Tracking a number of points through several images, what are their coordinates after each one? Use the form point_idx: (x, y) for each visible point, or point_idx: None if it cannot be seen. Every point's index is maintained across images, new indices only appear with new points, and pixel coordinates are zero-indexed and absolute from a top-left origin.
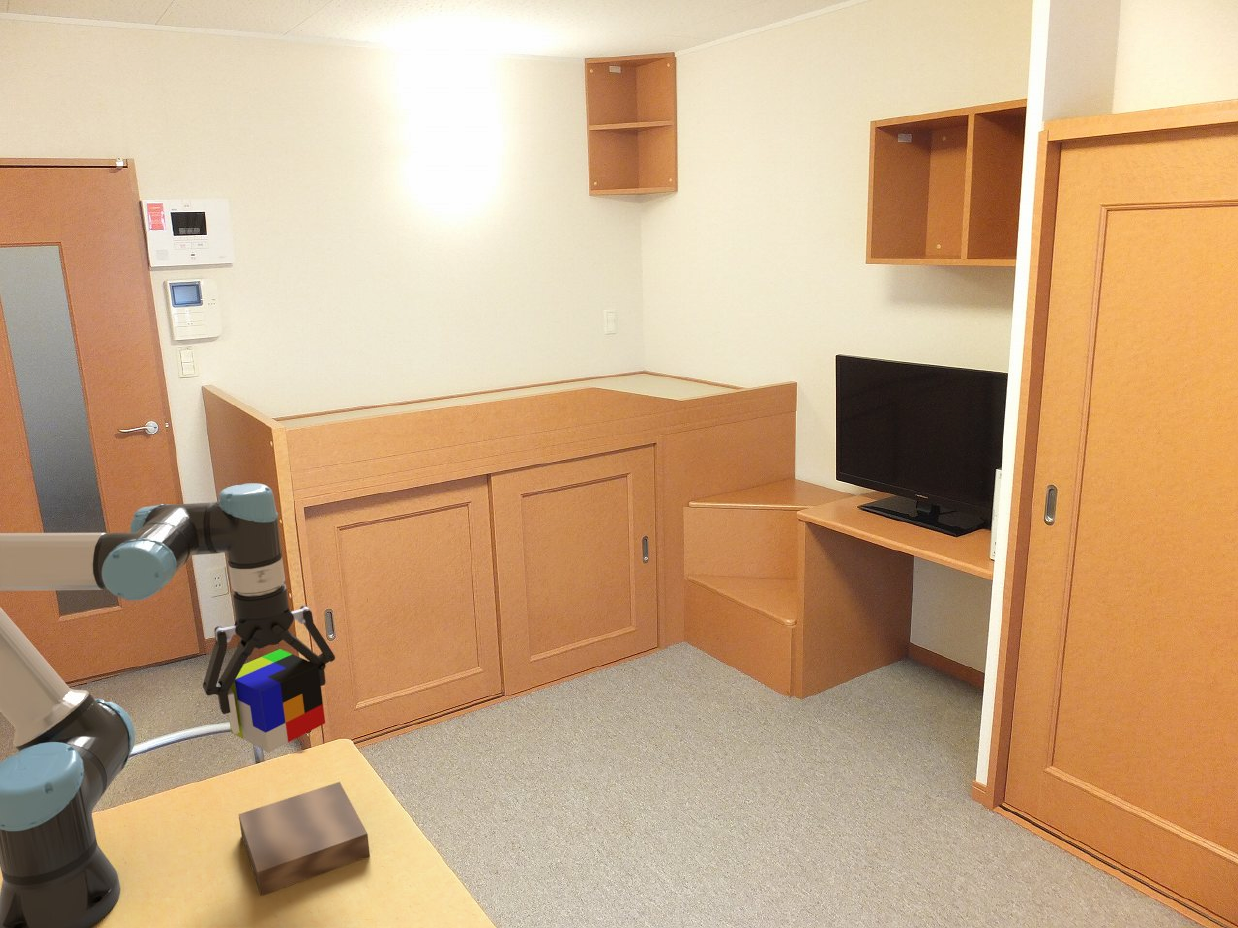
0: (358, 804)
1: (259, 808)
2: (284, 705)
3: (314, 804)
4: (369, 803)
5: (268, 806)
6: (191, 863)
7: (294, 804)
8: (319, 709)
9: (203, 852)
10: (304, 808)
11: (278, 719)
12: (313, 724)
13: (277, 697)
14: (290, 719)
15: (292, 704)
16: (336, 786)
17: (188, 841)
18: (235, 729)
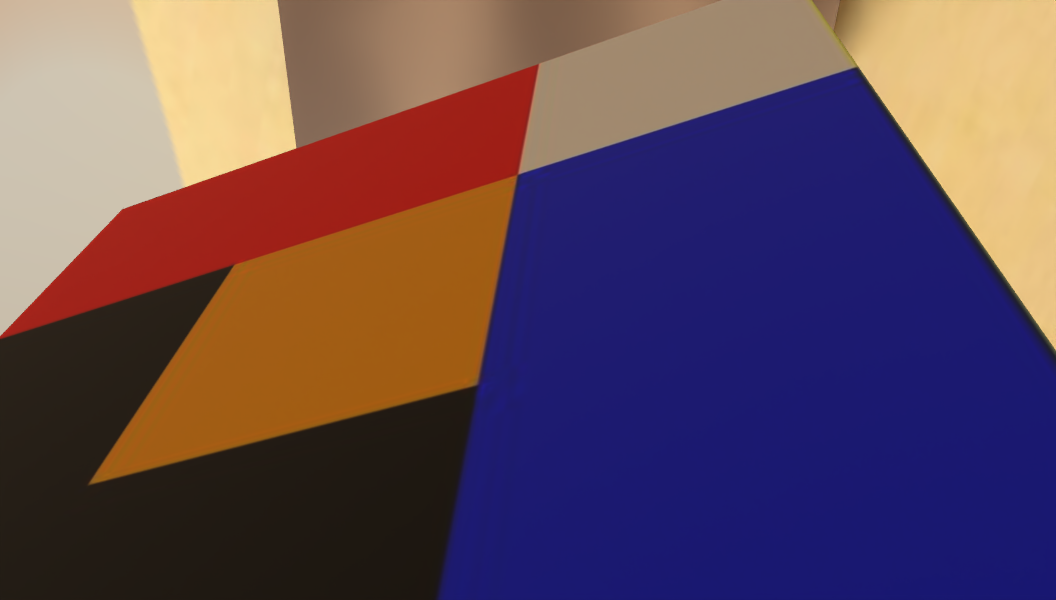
0: (261, 45)
1: None
2: (462, 344)
3: (452, 30)
4: (211, 21)
5: None
6: (1034, 62)
7: None
8: (70, 295)
9: (958, 110)
10: (507, 28)
11: (620, 193)
12: (221, 193)
13: (575, 490)
14: (437, 204)
15: (323, 349)
16: (318, 119)
17: (971, 221)
18: None
